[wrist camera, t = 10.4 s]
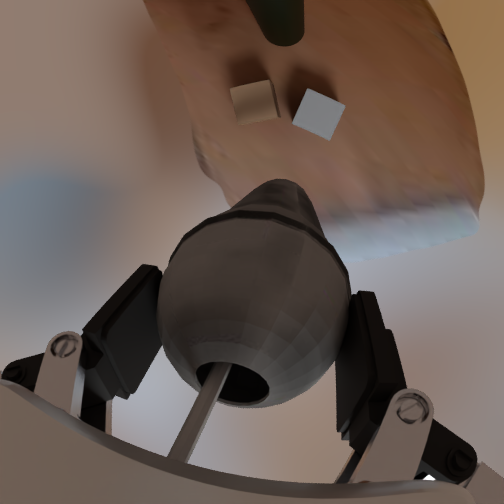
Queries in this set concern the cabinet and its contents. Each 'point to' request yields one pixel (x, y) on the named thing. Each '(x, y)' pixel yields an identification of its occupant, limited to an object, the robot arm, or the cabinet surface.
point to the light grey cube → (318, 114)
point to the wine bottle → (279, 20)
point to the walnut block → (255, 102)
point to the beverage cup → (252, 305)
